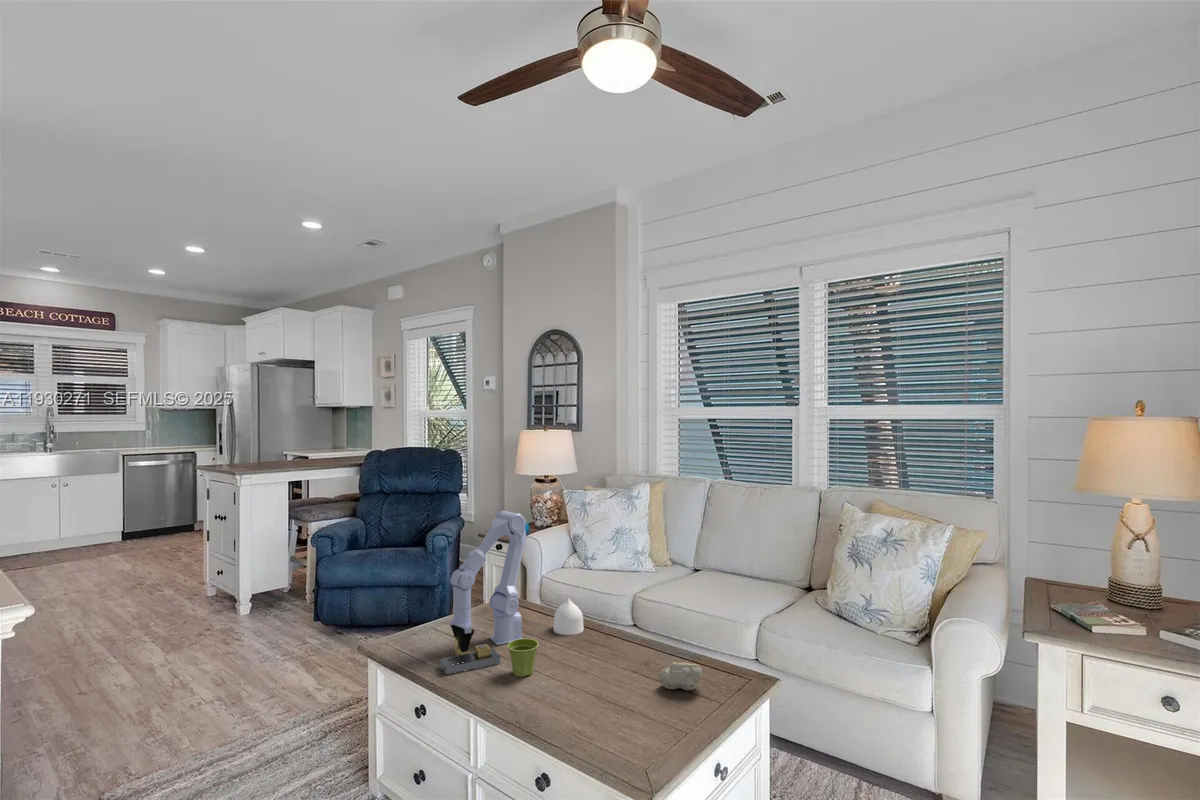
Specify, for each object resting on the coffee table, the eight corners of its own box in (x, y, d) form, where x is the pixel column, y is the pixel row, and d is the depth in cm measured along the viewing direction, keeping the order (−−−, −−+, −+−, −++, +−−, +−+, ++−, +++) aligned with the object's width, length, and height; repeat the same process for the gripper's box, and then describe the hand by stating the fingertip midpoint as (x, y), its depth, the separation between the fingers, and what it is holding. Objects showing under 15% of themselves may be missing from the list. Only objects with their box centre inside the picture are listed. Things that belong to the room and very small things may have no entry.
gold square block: (466, 649, 201) (466, 633, 201) (469, 653, 197) (469, 637, 197) (454, 651, 199) (454, 635, 199) (457, 656, 195) (457, 639, 195)
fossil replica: (654, 683, 177) (667, 702, 167) (653, 656, 176) (666, 673, 166) (692, 675, 180) (707, 693, 170) (691, 648, 179) (706, 665, 169)
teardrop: (566, 637, 211) (566, 603, 211) (547, 629, 219) (547, 596, 219) (589, 630, 219) (589, 596, 219) (570, 622, 227) (570, 590, 227)
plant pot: (533, 681, 177) (533, 651, 177) (502, 678, 179) (502, 649, 179) (542, 667, 186) (542, 639, 186) (513, 665, 188) (513, 637, 188)
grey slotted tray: (492, 656, 195) (492, 648, 195) (499, 664, 189) (499, 656, 189) (440, 666, 187) (440, 659, 187) (445, 675, 181) (446, 667, 181)
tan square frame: (486, 659, 193) (486, 643, 193) (490, 664, 189) (490, 647, 189) (474, 662, 191) (474, 645, 191) (478, 666, 187) (478, 649, 187)
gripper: (444, 602, 202) (444, 643, 202) (456, 615, 190) (455, 658, 190) (464, 599, 206) (464, 639, 206) (477, 611, 193) (477, 654, 193)
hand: (461, 648), depth 198 cm, fingers open, 5 cm apart
